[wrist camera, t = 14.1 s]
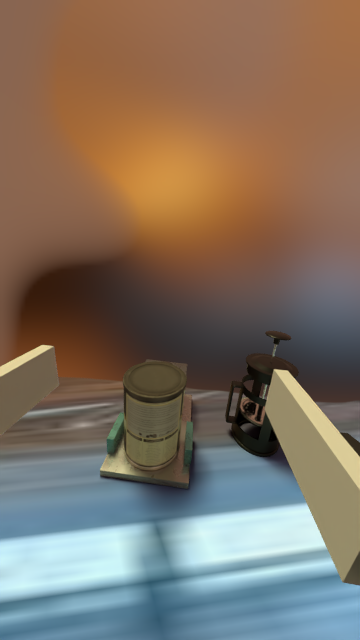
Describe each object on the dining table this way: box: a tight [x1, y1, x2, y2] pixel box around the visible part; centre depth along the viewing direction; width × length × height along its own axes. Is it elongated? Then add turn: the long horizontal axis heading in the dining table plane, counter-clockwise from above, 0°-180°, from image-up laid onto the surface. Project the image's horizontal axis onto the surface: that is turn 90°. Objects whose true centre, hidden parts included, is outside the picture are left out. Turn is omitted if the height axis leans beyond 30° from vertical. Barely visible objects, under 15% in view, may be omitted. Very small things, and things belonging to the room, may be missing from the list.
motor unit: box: [100, 359, 193, 489], centre depth 39 cm, size 14×21×11 cm
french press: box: [225, 331, 299, 457], centre depth 38 cm, size 12×9×23 cm
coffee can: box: [123, 361, 187, 471], centre depth 34 cm, size 10×10×14 cm
